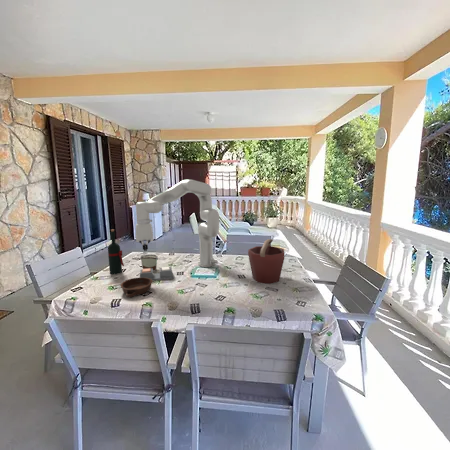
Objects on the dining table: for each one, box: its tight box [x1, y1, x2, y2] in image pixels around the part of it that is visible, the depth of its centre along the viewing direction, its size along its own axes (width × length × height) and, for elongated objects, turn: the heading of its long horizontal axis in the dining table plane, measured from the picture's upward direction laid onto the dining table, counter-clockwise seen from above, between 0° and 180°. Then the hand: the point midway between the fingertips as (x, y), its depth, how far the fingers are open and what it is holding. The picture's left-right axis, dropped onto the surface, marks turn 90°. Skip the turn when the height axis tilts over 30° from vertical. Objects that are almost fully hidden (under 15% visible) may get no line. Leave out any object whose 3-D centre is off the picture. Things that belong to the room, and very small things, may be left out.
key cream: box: [160, 266, 170, 271], centre depth 169 cm, size 5×5×3 cm
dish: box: [119, 276, 154, 298], centre depth 147 cm, size 18×22×5 cm
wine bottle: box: [107, 229, 125, 275], centre depth 175 cm, size 8×10×30 cm
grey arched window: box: [140, 253, 159, 272], centre depth 183 cm, size 12×6×10 cm, turn 84°
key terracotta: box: [141, 268, 151, 273], centre depth 165 cm, size 5×5×3 cm
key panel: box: [138, 266, 174, 281], centre depth 167 cm, size 21×10×5 cm, turn 105°
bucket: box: [247, 238, 285, 285], centre depth 162 cm, size 24×22×25 cm
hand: (145, 250), depth 163 cm, fingers closed
